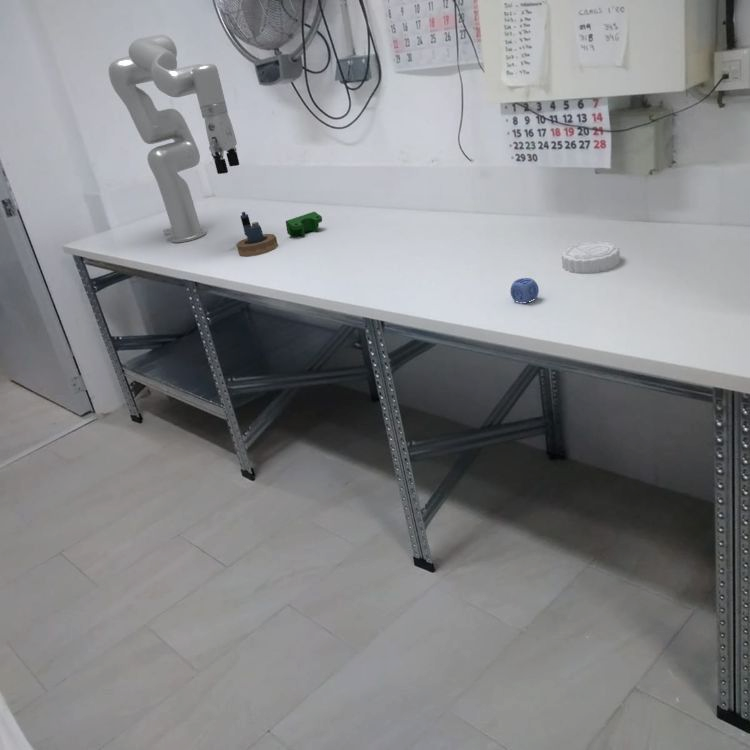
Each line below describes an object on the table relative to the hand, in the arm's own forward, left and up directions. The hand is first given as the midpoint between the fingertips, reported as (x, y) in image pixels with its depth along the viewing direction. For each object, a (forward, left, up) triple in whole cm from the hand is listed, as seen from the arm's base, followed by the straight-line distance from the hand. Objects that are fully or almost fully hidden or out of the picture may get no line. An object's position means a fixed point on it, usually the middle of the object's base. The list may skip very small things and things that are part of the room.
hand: (228, 169), depth 222 cm
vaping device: (+5, -7, -24) cm, 26 cm away
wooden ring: (+6, -7, -24) cm, 25 cm away
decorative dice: (+86, -73, -24) cm, 115 cm away
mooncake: (+100, -56, -24) cm, 117 cm away
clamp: (+18, +4, -24) cm, 30 cm away
